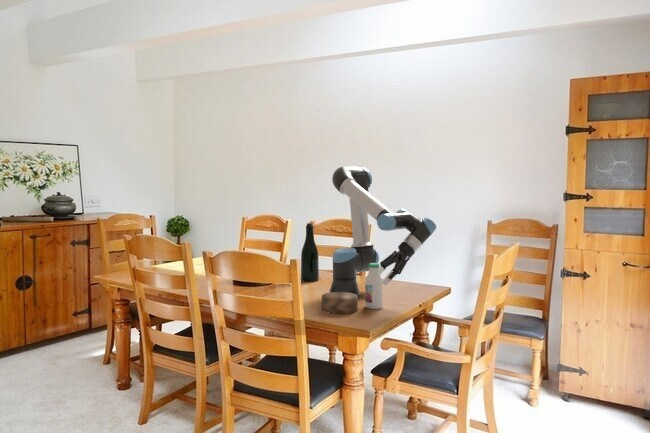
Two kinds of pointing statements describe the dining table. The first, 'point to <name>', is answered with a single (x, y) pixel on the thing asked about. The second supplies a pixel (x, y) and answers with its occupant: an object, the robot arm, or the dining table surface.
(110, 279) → the dining table surface
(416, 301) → the dining table surface
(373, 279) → the milk bottle
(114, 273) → the dining table surface
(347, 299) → the walnut stand
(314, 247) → the dark green wine bottle
